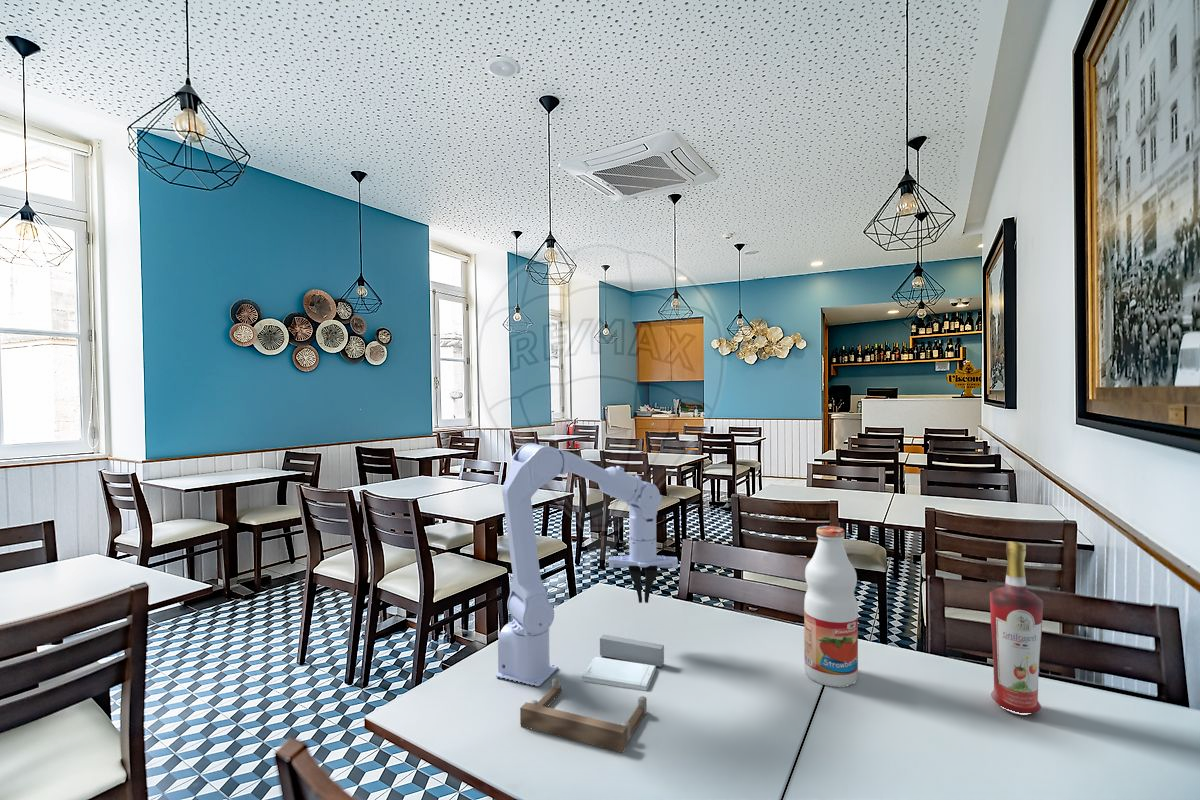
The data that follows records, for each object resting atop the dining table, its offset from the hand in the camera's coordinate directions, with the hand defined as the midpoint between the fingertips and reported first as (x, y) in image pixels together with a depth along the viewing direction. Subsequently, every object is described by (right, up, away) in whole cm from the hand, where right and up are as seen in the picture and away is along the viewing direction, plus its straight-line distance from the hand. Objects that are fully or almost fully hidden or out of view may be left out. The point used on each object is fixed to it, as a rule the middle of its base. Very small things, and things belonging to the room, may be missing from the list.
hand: (643, 601), depth 122 cm
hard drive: (-6, -10, -13) cm, 17 cm away
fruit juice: (+34, -10, -14) cm, 38 cm away
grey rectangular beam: (-3, -10, -7) cm, 12 cm away
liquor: (+61, -10, -25) cm, 67 cm away
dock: (-11, -10, -26) cm, 30 cm away
